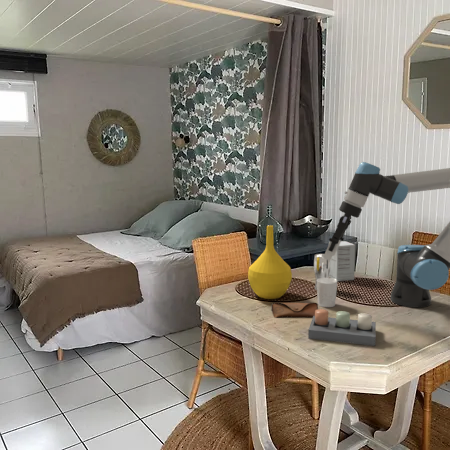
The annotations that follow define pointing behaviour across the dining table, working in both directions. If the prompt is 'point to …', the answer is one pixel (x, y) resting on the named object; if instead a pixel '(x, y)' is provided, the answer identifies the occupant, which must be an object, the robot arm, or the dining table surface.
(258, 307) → the dining table surface
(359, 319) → the button cream
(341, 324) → the button sage
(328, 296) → the white cup
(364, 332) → the panel
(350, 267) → the supplement box
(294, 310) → the sunglasses case
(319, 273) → the beer glass
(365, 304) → the dining table surface
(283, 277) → the vase
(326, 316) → the button terracotta
